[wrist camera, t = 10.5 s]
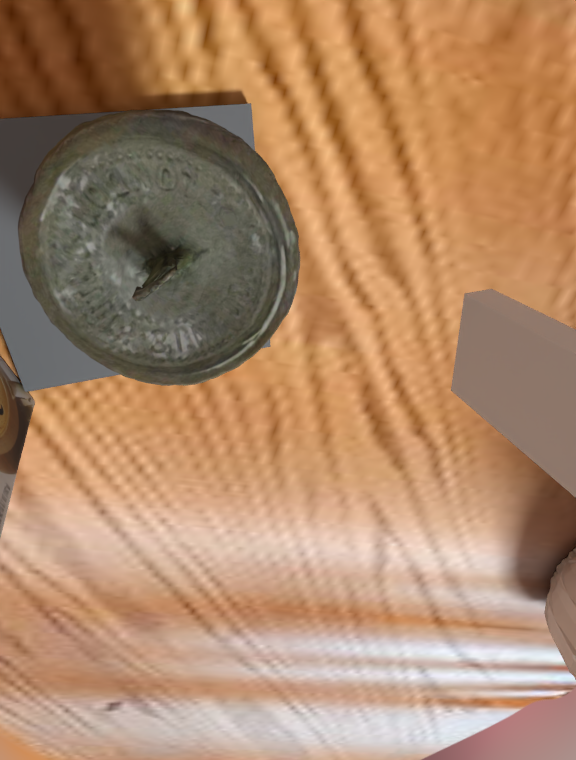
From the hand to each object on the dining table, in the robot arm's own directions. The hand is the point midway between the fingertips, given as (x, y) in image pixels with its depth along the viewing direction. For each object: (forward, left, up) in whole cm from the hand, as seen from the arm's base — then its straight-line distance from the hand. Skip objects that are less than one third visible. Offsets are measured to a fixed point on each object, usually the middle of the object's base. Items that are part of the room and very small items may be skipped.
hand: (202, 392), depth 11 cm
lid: (0, -1, -12) cm, 12 cm away
